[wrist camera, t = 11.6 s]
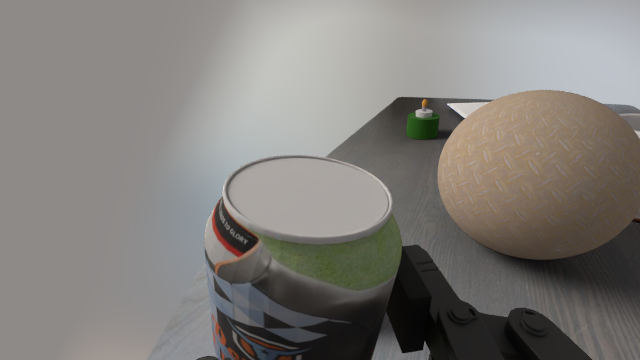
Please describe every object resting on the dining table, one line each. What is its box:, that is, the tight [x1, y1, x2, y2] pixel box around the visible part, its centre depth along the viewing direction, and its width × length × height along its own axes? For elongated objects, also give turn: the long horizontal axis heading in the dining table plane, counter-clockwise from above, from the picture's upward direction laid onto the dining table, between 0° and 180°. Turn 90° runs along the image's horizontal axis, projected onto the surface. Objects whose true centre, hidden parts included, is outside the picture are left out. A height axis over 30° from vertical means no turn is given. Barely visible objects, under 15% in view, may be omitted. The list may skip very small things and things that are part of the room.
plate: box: [447, 102, 489, 119], centre depth 95 cm, size 22×22×2 cm
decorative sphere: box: [438, 90, 640, 260], centre depth 35 cm, size 20×20×20 cm
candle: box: [406, 99, 440, 140], centre depth 79 cm, size 8×8×10 cm
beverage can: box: [204, 155, 402, 360], centre depth 11 cm, size 6×7×12 cm
